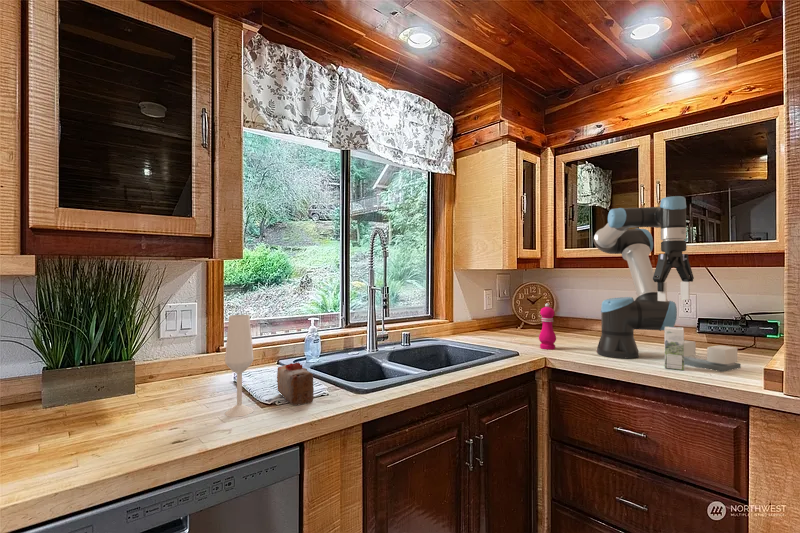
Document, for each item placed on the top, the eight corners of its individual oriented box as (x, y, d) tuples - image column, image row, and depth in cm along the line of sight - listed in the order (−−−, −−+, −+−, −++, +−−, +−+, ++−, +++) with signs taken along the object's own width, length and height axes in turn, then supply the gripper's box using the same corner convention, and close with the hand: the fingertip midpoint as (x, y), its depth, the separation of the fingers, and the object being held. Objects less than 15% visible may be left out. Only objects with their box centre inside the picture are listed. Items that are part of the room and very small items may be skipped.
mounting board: (665, 360, 157) (665, 356, 157) (683, 357, 162) (683, 353, 162) (722, 371, 140) (722, 367, 140) (740, 367, 145) (740, 363, 145)
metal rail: (670, 355, 158) (670, 353, 158) (678, 354, 161) (678, 352, 161) (727, 366, 141) (727, 363, 141) (735, 364, 144) (735, 362, 144)
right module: (707, 361, 146) (707, 347, 146) (719, 358, 149) (719, 345, 149) (725, 364, 141) (725, 349, 141) (737, 361, 144) (737, 347, 144)
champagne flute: (221, 417, 98) (221, 317, 99) (228, 408, 105) (228, 314, 105) (251, 415, 100) (251, 316, 100) (255, 406, 106) (255, 314, 106)
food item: (273, 394, 117) (273, 359, 117) (300, 389, 121) (300, 356, 121) (289, 407, 106) (289, 369, 106) (318, 402, 110) (318, 365, 110)
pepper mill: (535, 348, 182) (535, 303, 182) (544, 346, 187) (543, 302, 187) (551, 350, 177) (550, 304, 177) (559, 348, 182) (558, 303, 182)
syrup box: (683, 367, 146) (683, 326, 146) (684, 371, 141) (683, 328, 141) (664, 365, 149) (664, 325, 149) (664, 368, 144) (664, 327, 144)
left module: (668, 354, 158) (668, 341, 158) (680, 352, 161) (680, 339, 161) (683, 356, 153) (683, 343, 153) (695, 354, 156) (695, 341, 156)
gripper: (662, 238, 137) (663, 302, 136) (704, 240, 148) (705, 299, 148) (640, 240, 143) (641, 301, 143) (682, 242, 154) (683, 298, 154)
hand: (673, 300), depth 145 cm, fingers open, 13 cm apart
